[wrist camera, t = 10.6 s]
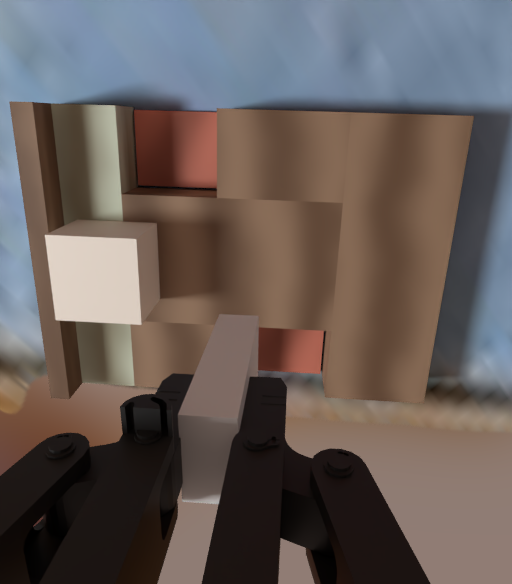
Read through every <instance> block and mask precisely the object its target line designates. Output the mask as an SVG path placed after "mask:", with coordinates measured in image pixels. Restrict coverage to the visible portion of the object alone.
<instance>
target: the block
mask: <svg viewBox="0 0 512 584" xmlns="http://www.w3.org/2000/svg"><path fill="white" fill-rule="evenodd" d="M45 240H46V248H47V256H48V264H49V272H50V280H51V288H52V295H53V303H54V311H55V319H56V320H61V321H79V322H98V323H116V324H134V325H142V323H143V322H144V321H145V319H146V318H147V316H148V315H149V314H150V312H151V311H152V310H153V308H154V307H155V305H156V304H157V303H158V301H159V300H160V283H159V260H158V237H157V223H145V222H122V221H98V220H75V221H73V222H71V223H69V224H67V225H65V226H63V227H61V228H58V229H56V230H54V231H52V232H50V233H48V234H46V235H45Z"/></svg>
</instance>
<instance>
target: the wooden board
mask: <svg viewBox="0 0 512 584" xmlns="http://www.w3.org/2000/svg"><path fill="white" fill-rule="evenodd" d="M10 109H11V116H12V123H13V131H14V138H15V145H16V152H17V159H18V166H19V173H20V180H21V187H22V195H23V202H24V209H25V216H26V223H27V230H28V237H29V244H30V251H31V259H32V266H33V273H34V280H35V287H36V294H37V301H38V308H39V315H40V323H41V330H42V337H43V344H44V351H45V358H46V365H47V372H48V379H49V387H50V393H51V398H60V399H70V398H71V396H72V395H73V394H74V393H75V391H76V390H77V389H78V388H79V386H80V385H81V384H82V383H95V384H112V385H128V386H145V387H159V386H160V384H161V382H162V381H163V380H164V379H166V378H167V377H168V376H170V375H171V374H172V373H176V374H195V372H196V370H197V367H198V365H199V362H200V360H201V358H202V355H203V353H204V350H205V348H206V345H207V343H208V341H209V338H210V336H211V333H212V331H213V329H214V326H215V324H216V321H217V319H218V317H219V314H228V315H250V316H259V337H258V370H265V371H282V372H299V373H317V374H320V371H321V359H322V348H323V336H324V331H326V332H325V344H324V355H323V367H322V377H323V385H324V392H325V397H328V398H345V399H361V400H378V401H394V402H411V403H424V398H425V392H426V387H427V381H428V375H429V369H430V364H431V358H432V352H433V347H434V341H435V335H436V330H437V324H438V318H439V313H440V307H441V301H442V296H443V290H444V284H445V279H446V273H447V267H448V261H449V256H450V250H451V244H452V239H453V233H454V227H455V222H456V216H457V210H458V205H459V199H460V193H461V188H462V182H463V176H464V170H465V165H466V159H467V153H468V148H469V142H470V136H471V131H472V125H473V119H474V116H458V115H424V114H389V113H355V112H321V111H287V110H253V109H218V108H217V112H191V111H157V110H134V112H133V107H127V106H115V105H81V104H49V103H35V102H10ZM134 120H135V129H134ZM135 137H136V147H135ZM136 155H137V164H136ZM137 173H138V182H137ZM138 185H142V186H169V187H195V188H217V190H204V189H178V188H151V187H138ZM75 220H98V221H122V222H145V223H157V237H158V260H159V283H160V300H159V301H158V303H157V304H156V305H155V307H154V308H153V310H152V311H151V312H150V314H149V315H148V316H147V318H146V319H145V321H144V322H143V323H142V325H134V324H116V323H98V322H79V321H61V320H56V319H55V311H54V303H53V295H52V288H51V280H50V272H49V264H48V256H47V248H46V240H45V235H46V234H48V233H50V232H52V231H54V230H56V229H58V228H61V227H63V226H65V225H67V224H69V223H71V222H73V221H75Z"/></svg>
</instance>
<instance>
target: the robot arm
mask: <svg viewBox="0 0 512 584" xmlns="http://www.w3.org/2000/svg"><path fill="white" fill-rule="evenodd" d="M258 337H259V316H250V315H228V314H219V317H218V319H217V321H216V324H215V326H214V329H213V331H212V333H211V336H210V338H209V341H208V343H207V345H206V348H205V350H204V353H203V355H202V358H201V360H200V362H199V365H198V367H197V370H196V372H195V374H176V373H172V374H171V375H170V376H168V377H167V378H166V379H164V380H163V381H162V382H161V384H160V386H159V388H158V390H157V392H156V394H145V395H140V396H136V397H133V398H131V399H129V400H127V401H125V402H124V403H123V404H122V405H121V406H120V410H121V421H122V431H123V435H122V436H121V438H120V440H119V441H118V442H116V443H112V444H107V445H100V446H94V447H90V446H89V441H88V440H87V438H86V437H85V436H83V435H81V434H78V433H63V434H58V435H55V436H52V437H49V438H47V439H46V440H44V441H43V442H41V443H39V444H38V445H37V446H36V447H35V448H34V449H32V450H31V451H30V452H29V453H27V454H26V455H25V456H24V457H23V458H21V459H20V460H19V461H18V462H17V463H15V464H14V465H13V466H12V467H11V468H9V469H8V470H7V471H6V472H5V473H3V474H2V475H1V476H0V584H157V583H158V580H159V576H160V573H161V569H162V566H163V563H164V559H165V556H166V553H167V550H168V547H169V543H170V540H171V537H172V533H173V530H174V527H175V524H176V520H177V516H178V504H177V499H178V496H179V493H180V490H181V488H182V501H183V502H197V503H211V504H219V505H218V510H217V515H216V520H215V524H214V529H213V533H212V538H211V543H210V547H209V552H208V557H207V562H206V566H205V571H204V575H203V581H202V584H278V575H279V555H280V538H282V539H285V540H287V541H290V542H292V543H295V544H298V545H300V546H303V547H305V548H306V555H307V559H308V562H309V566H310V569H311V572H312V576H313V579H314V583H315V584H430V582H429V580H428V578H427V576H426V574H425V573H424V571H423V569H422V567H421V565H420V564H419V562H418V560H417V558H416V556H415V554H414V553H413V550H412V549H411V547H410V545H409V543H408V541H407V540H406V538H405V536H404V534H403V532H402V530H401V528H400V527H399V525H398V523H397V521H396V519H395V517H394V516H393V514H392V512H391V510H390V508H389V507H388V504H387V503H386V501H385V499H384V497H383V495H382V493H381V492H380V490H379V488H378V486H377V484H376V483H375V481H374V479H373V477H372V475H371V473H370V471H369V470H368V468H367V466H366V464H365V463H364V462H363V460H362V459H361V458H360V457H359V456H357V455H355V454H354V453H352V452H349V451H346V450H342V449H327V450H323V451H320V452H319V453H317V454H316V455H314V458H313V459H312V458H309V457H306V456H303V455H301V454H299V453H297V452H295V451H294V450H292V449H291V448H290V447H289V446H288V444H287V442H286V440H285V420H286V395H287V387H286V385H285V384H284V382H283V381H282V379H281V378H270V377H258ZM42 516H43V519H42V520H41V521H40V522H39V523H38V524H37V525H36V526H34V527H33V525H34V524H35V523H36V522H37V521H38V520H39V519H40V518H41V517H42Z"/></svg>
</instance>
